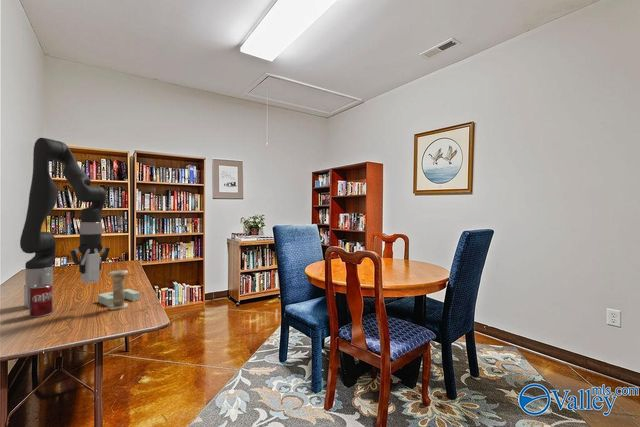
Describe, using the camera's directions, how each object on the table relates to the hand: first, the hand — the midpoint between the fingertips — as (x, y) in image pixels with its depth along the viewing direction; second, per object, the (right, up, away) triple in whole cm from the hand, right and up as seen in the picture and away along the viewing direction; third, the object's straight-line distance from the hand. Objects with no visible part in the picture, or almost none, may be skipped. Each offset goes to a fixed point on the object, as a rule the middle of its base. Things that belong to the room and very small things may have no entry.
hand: (90, 272), depth 132 cm
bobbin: (+8, -17, +6) cm, 20 cm away
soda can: (-17, -17, -4) cm, 25 cm away
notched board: (+2, -17, +16) cm, 23 cm away
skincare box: (0, -4, 0) cm, 4 cm away
